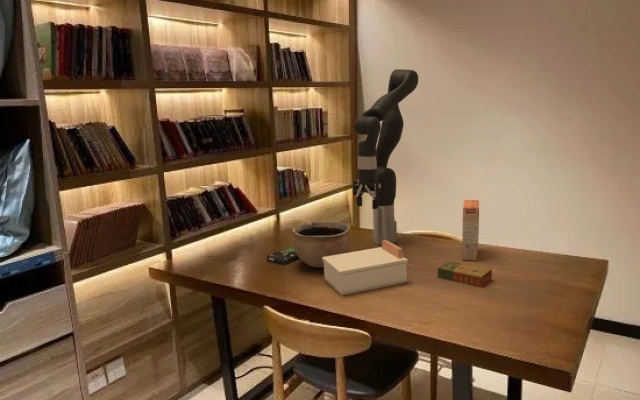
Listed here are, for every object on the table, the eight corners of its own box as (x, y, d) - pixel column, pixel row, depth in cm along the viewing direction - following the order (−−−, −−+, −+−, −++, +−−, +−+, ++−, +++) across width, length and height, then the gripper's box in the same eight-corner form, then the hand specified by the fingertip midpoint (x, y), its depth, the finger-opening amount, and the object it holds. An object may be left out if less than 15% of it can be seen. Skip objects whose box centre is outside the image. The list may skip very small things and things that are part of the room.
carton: (481, 288, 154) (481, 276, 153) (437, 278, 164) (436, 267, 164) (492, 280, 160) (492, 268, 159) (448, 271, 170) (448, 260, 169)
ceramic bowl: (317, 252, 199) (315, 218, 196) (361, 260, 186) (360, 223, 183) (283, 268, 181) (280, 231, 178) (330, 278, 169) (328, 238, 166)
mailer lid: (385, 249, 175) (384, 238, 174) (407, 262, 160) (407, 250, 159) (322, 259, 167) (321, 248, 166) (339, 274, 152) (339, 262, 151)
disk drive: (284, 267, 185) (310, 256, 196) (284, 260, 184) (309, 250, 195) (266, 262, 192) (292, 252, 202) (266, 255, 191) (292, 246, 202)
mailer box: (384, 268, 176) (384, 250, 175) (406, 282, 161) (406, 263, 160) (324, 279, 168) (323, 260, 167) (341, 295, 154) (340, 275, 152)
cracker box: (478, 261, 178) (479, 207, 173) (461, 260, 180) (462, 207, 175) (478, 250, 191) (479, 199, 186) (463, 249, 192) (463, 199, 188)
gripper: (386, 168, 185) (386, 208, 187) (361, 165, 195) (361, 203, 198) (373, 169, 180) (373, 211, 183) (347, 167, 191) (348, 206, 194)
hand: (367, 207), depth 190 cm, fingers open, 8 cm apart
